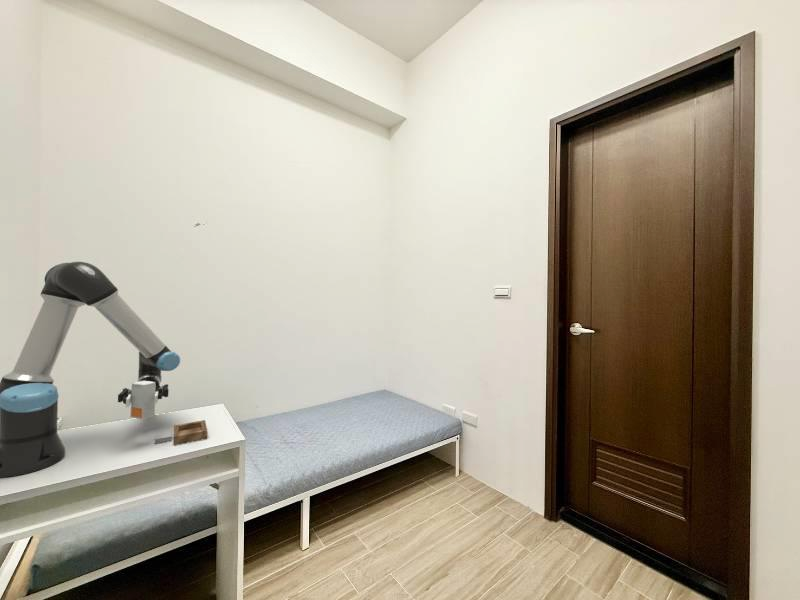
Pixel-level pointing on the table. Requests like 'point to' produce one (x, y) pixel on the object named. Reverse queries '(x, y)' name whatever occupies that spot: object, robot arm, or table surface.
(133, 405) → the skincare box
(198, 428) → the socket block
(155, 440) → the flat gray slab
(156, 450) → the table surface
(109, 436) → the table surface
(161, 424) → the table surface
